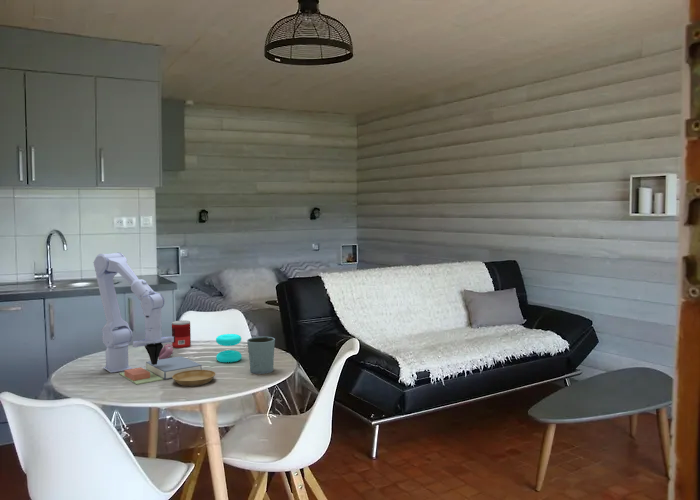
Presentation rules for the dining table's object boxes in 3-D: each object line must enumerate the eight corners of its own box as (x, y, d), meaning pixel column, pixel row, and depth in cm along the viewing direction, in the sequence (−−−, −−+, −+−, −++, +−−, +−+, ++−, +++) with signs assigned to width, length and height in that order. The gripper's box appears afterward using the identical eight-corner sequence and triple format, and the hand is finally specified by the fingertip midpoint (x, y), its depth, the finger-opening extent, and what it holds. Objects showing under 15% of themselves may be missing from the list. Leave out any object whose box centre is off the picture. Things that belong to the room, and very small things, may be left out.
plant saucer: (172, 389, 201) (172, 382, 201) (172, 378, 215) (172, 371, 215) (217, 386, 205) (217, 378, 205) (214, 375, 220) (214, 368, 219)
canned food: (194, 345, 269) (193, 321, 268) (180, 349, 262) (180, 324, 261) (182, 343, 273) (181, 319, 272) (168, 347, 266) (168, 322, 265)
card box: (140, 367, 221) (141, 372, 221) (124, 370, 217) (124, 375, 217) (150, 372, 214) (150, 377, 214) (133, 375, 210) (133, 380, 210)
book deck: (145, 369, 227) (145, 361, 227) (181, 363, 236) (181, 356, 236) (164, 379, 213) (164, 371, 213) (201, 373, 222) (201, 364, 221)
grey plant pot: (279, 368, 228) (278, 337, 227) (268, 375, 218) (268, 342, 217) (254, 366, 230) (254, 335, 230) (243, 373, 221) (242, 341, 220)
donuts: (245, 334, 244) (233, 338, 234) (246, 358, 244) (233, 364, 235) (224, 332, 247) (211, 337, 237) (224, 356, 247) (211, 362, 238)
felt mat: (119, 374, 221) (119, 373, 221) (144, 369, 227) (144, 368, 227) (136, 384, 207) (136, 383, 207) (163, 379, 213) (163, 378, 213)
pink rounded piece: (168, 365, 240) (176, 348, 241) (157, 361, 238) (165, 344, 239) (166, 359, 249) (173, 344, 250) (155, 355, 248) (163, 340, 248)
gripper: (137, 331, 211) (138, 369, 211) (176, 326, 220) (177, 362, 220) (130, 328, 216) (131, 365, 217) (169, 323, 225) (170, 359, 226)
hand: (154, 364), depth 219 cm, fingers closed
